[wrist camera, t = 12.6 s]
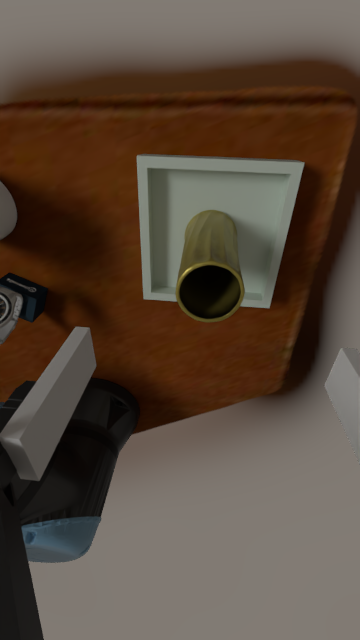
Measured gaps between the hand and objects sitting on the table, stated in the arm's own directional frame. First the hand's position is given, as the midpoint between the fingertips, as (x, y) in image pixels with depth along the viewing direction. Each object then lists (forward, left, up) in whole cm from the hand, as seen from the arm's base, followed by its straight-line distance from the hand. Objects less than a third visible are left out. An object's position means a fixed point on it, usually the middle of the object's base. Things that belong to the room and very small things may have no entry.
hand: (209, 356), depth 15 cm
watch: (-10, +26, -23) cm, 36 cm away
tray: (0, 0, -22) cm, 22 cm away
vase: (0, 0, -22) cm, 22 cm away
